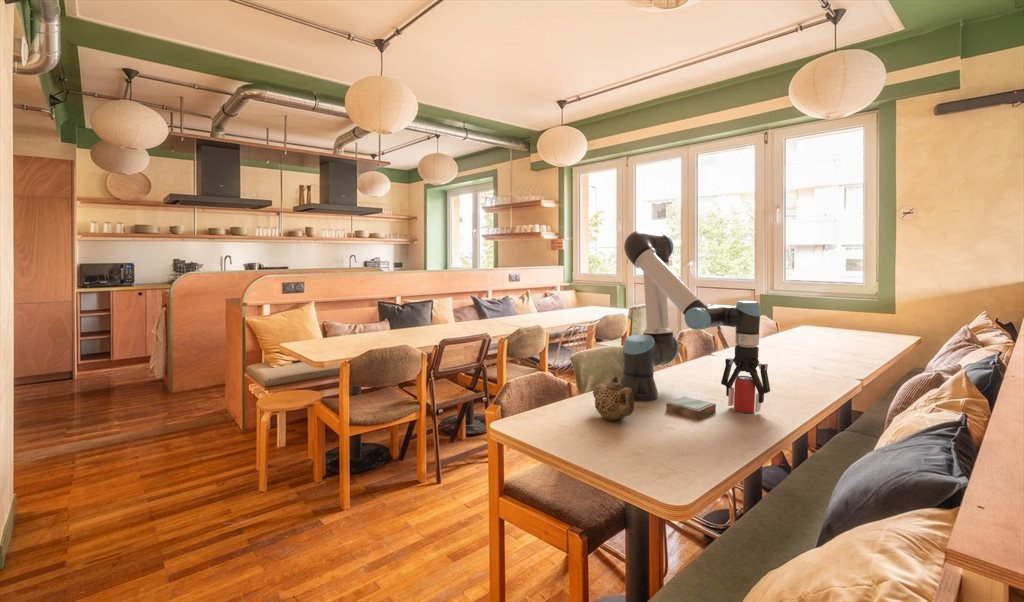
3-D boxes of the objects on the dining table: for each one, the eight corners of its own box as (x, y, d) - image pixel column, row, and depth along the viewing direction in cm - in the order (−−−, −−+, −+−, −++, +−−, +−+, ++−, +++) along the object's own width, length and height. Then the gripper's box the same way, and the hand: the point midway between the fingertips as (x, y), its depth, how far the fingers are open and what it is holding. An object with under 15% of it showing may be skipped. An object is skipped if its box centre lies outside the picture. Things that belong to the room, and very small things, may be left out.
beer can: (756, 414, 171) (758, 380, 170) (736, 413, 172) (737, 379, 171) (751, 408, 177) (752, 375, 176) (731, 407, 178) (733, 374, 177)
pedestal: (666, 411, 174) (666, 402, 174) (683, 404, 182) (684, 395, 182) (698, 419, 165) (698, 410, 165) (715, 412, 173) (715, 403, 173)
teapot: (582, 412, 173) (582, 370, 171) (609, 408, 177) (610, 367, 176) (618, 433, 153) (618, 385, 152) (648, 427, 158) (649, 381, 156)
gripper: (712, 342, 178) (709, 403, 180) (775, 351, 162) (771, 418, 164) (721, 340, 183) (719, 399, 185) (783, 348, 167) (780, 413, 169)
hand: (744, 408), depth 174 cm, fingers open, 9 cm apart
